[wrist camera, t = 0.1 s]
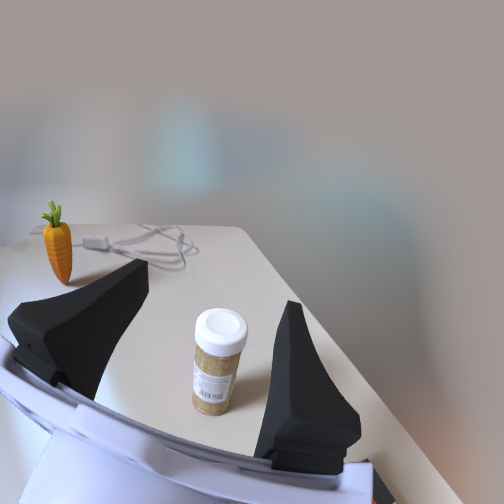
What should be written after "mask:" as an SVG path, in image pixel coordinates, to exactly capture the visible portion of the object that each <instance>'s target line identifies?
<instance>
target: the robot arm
mask: <svg viewBox="0 0 504 504" xmlns="http://www.w3.org/2000/svg"><path fill="white" fill-rule="evenodd" d="M148 293H149V284H148V262H147V261H144V260H141V259H138V258H137V259H135V260H133V261H131V262H130V263H128V264H126V265H124V266H123V267H121V268H119V269H117V270H115V271H114V272H112V273H110V274H108V275H107V276H105V277H103V278H101V279H99V280H97V281H95V282H93V283H91V284H89V285H87V286H84V287H82V288H79V289H77V290H74V291H72V292H69V293H66V294H63V295H59V296H56V297H52V298H48V299H44V300H39V301H32V302H24V303H21V304H20V305H19V306H18V307H17V308H16V309H15V310H14V311H13V313H12V314H11V315H10V316H9V317H8V324H9V327H10V329H11V331H12V333H13V335H14V336H15V338H16V340H17V342H18V343H19V345H18V346H17V348H16V347H15V346H14V345H13V344H12V343H11V342H9V341H8V340H7V339H6V338H4V337H3V336H2V335H0V393H1V394H2V395H3V396H4V397H5V398H6V399H7V400H8V401H10V402H11V403H12V404H13V405H14V406H15V407H17V408H18V409H19V410H20V411H21V412H22V413H24V414H25V415H26V416H27V417H29V418H30V419H31V420H32V421H34V422H35V423H36V424H38V425H39V426H40V427H41V428H43V429H44V430H46V431H47V432H48V433H50V434H51V437H50V439H49V441H48V443H47V445H46V447H45V449H44V451H43V453H42V455H41V457H40V459H39V460H38V463H37V465H36V467H35V469H34V471H33V473H32V475H31V477H30V479H29V481H28V483H27V486H26V488H25V490H24V492H23V495H22V497H21V499H20V501H19V504H372V499H373V463H372V462H348V463H344V464H343V459H344V458H345V457H346V455H347V448H349V447H350V446H351V445H353V444H354V443H356V442H357V441H358V440H359V439H360V438H361V422H360V417H359V414H358V413H357V412H356V411H355V410H354V409H353V408H352V406H351V405H350V404H349V403H348V402H347V401H346V400H345V398H344V397H343V396H342V395H341V393H340V392H339V390H338V389H337V387H336V386H335V385H334V383H333V382H332V380H331V379H330V377H329V375H328V373H327V372H326V370H325V368H324V366H323V364H322V362H321V360H320V358H319V356H318V354H317V352H316V349H315V347H314V344H313V342H312V339H311V336H310V333H309V331H308V328H307V324H306V321H305V317H304V313H303V309H302V305H301V304H300V303H297V302H293V301H289V300H288V302H287V305H286V307H285V310H284V313H283V315H282V318H281V321H280V323H279V326H278V329H277V333H276V338H275V343H274V350H273V361H272V372H271V382H270V390H269V395H268V400H267V405H266V409H265V414H264V418H263V422H262V426H261V430H260V434H259V438H258V442H257V445H256V449H255V453H254V456H253V457H251V456H246V455H241V454H237V453H232V452H228V451H224V450H220V449H216V448H212V447H209V446H205V445H202V444H198V443H195V442H192V441H189V440H185V439H182V438H179V437H176V436H173V435H171V434H168V433H165V432H162V431H159V430H157V429H154V428H152V427H149V426H147V425H144V424H142V423H139V422H137V421H134V420H132V419H130V418H127V417H125V416H123V415H121V414H119V413H116V412H114V411H112V410H110V409H108V408H106V407H104V406H102V405H100V404H98V403H96V402H94V398H95V395H96V392H97V389H98V386H99V383H100V381H101V378H102V375H103V373H104V370H105V368H106V366H107V363H108V361H109V359H110V357H111V355H112V353H113V351H114V349H115V347H116V345H117V343H118V341H119V339H120V338H121V336H122V335H123V333H124V332H125V330H126V329H127V327H128V326H129V324H130V323H131V321H132V320H133V319H134V317H135V316H136V314H137V313H138V311H139V310H140V308H141V306H142V305H143V303H144V301H145V299H146V297H147V295H148Z"/></svg>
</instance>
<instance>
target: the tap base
mask: <svg viewBox="0 0 504 504" xmlns="http://www.w3.org/2000/svg"><path fill="white" fill-rule="evenodd" d="M362 462H370V461H369V460H368V458H367V459H365V460H364V461H362ZM373 499H374V500H375V502H376V504H398V503H397V502H396V500H395V499H394V498H393V496H392V495H391V493H390V492H389V490H388V489H387V487H386V486H385V484H384V483H383V481H382V480H381V478H380V477H379V475H378V473H377V472H376V470H375V469H374V467H373Z"/></svg>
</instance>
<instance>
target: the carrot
mask: <svg viewBox="0 0 504 504" xmlns="http://www.w3.org/2000/svg"><path fill="white" fill-rule="evenodd" d="M49 206H50V208H51V211H52V213H53V215H52V214H51V213H49V214H48V215H47V214H42V215H41V217H42V218H45V219H47V220H48V221H49V222H50V223H51V224H49V225H48V226H47V227H45V229H44V230H43V235H44V241H45V246H46V250H47V254H48V257H49V260H50V263H51V266H52V268H53V271H54V273H55V275H56V276H57V278H58V279H59V280H60V281H61V283H62V284H64V285H66V284H67V283H68V282H69V279H70V276H71V271H72V244H71V233H70V229H69V227H68V225H67V224H66V223H63V222H59V220H60V216H61V206H60V205H58V207H57V210H56V208H55V205H54V202H53V201H50V202H49Z"/></svg>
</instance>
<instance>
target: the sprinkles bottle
mask: <svg viewBox="0 0 504 504" xmlns="http://www.w3.org/2000/svg"><path fill="white" fill-rule="evenodd" d="M247 335H248V325H247V323H246V321H245V319H244V318H243V317H242V316H241V315H239V314H238V313H236V312H234V311H232V310H229V309H224V308H214V309H210V310H207V311H205V312H203V313H202V314H201V315H200V316H199V317H198V319H197V322H196V329H195V339H196V354H195V362H194V378H193V388H194V389H193V395H192V402H193V405H194V406H195V408H196V409H197V410H198V411H199V412H201V413H203V414H206V415H211V416H215V415H219V414H222V413H223V412H225V411H226V410H227V409H228V407H229V405H230V396H231V393H232V391H233V387H234V383H235V379H236V373H237V368H238V364H239V359H240V355H241V351H242V350H243V348H244V346H245V344H246V339H247Z"/></svg>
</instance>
